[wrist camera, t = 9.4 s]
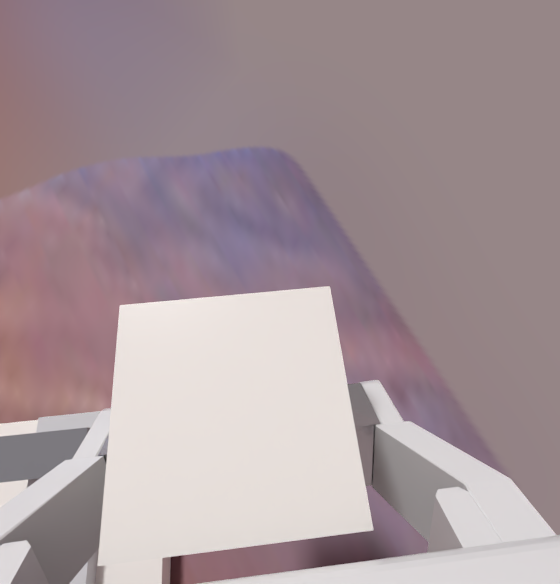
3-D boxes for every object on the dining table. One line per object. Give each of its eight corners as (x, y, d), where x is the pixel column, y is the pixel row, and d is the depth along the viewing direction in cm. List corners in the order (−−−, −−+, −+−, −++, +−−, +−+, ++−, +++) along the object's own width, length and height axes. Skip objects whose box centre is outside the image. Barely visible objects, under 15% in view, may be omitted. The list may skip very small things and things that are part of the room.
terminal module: (316, 486, 12) (376, 546, 5) (203, 499, 12) (96, 582, 5) (301, 368, 14) (329, 286, 7) (201, 378, 14) (119, 305, 7)
